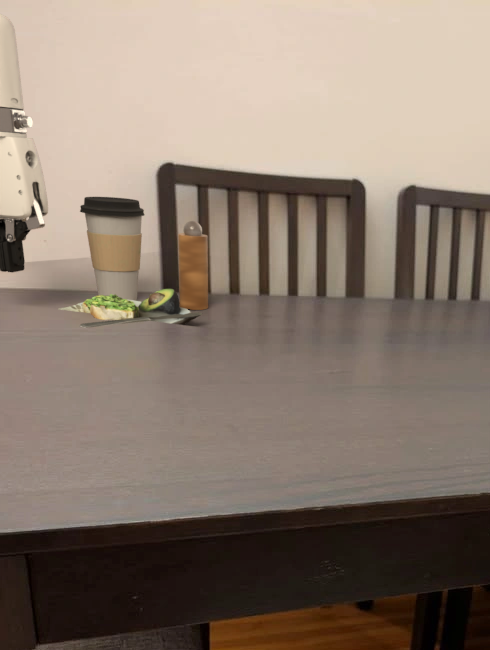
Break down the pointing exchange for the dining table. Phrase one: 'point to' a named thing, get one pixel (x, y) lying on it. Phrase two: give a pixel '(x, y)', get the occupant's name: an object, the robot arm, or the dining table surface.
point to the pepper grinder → (193, 267)
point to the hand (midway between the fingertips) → (12, 270)
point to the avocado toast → (135, 309)
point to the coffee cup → (114, 243)
